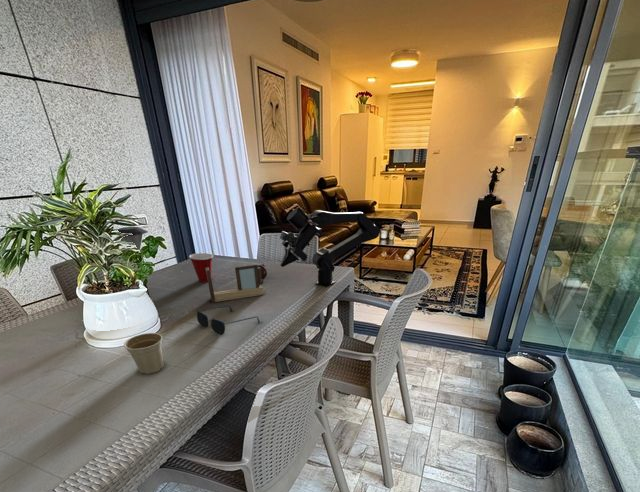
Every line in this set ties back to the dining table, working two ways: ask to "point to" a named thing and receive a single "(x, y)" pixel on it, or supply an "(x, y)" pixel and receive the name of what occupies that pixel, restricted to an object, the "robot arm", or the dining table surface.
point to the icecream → (263, 270)
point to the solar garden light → (133, 237)
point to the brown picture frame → (248, 277)
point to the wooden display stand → (231, 291)
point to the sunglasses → (215, 321)
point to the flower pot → (146, 352)
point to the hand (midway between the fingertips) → (281, 266)
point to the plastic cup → (202, 265)
